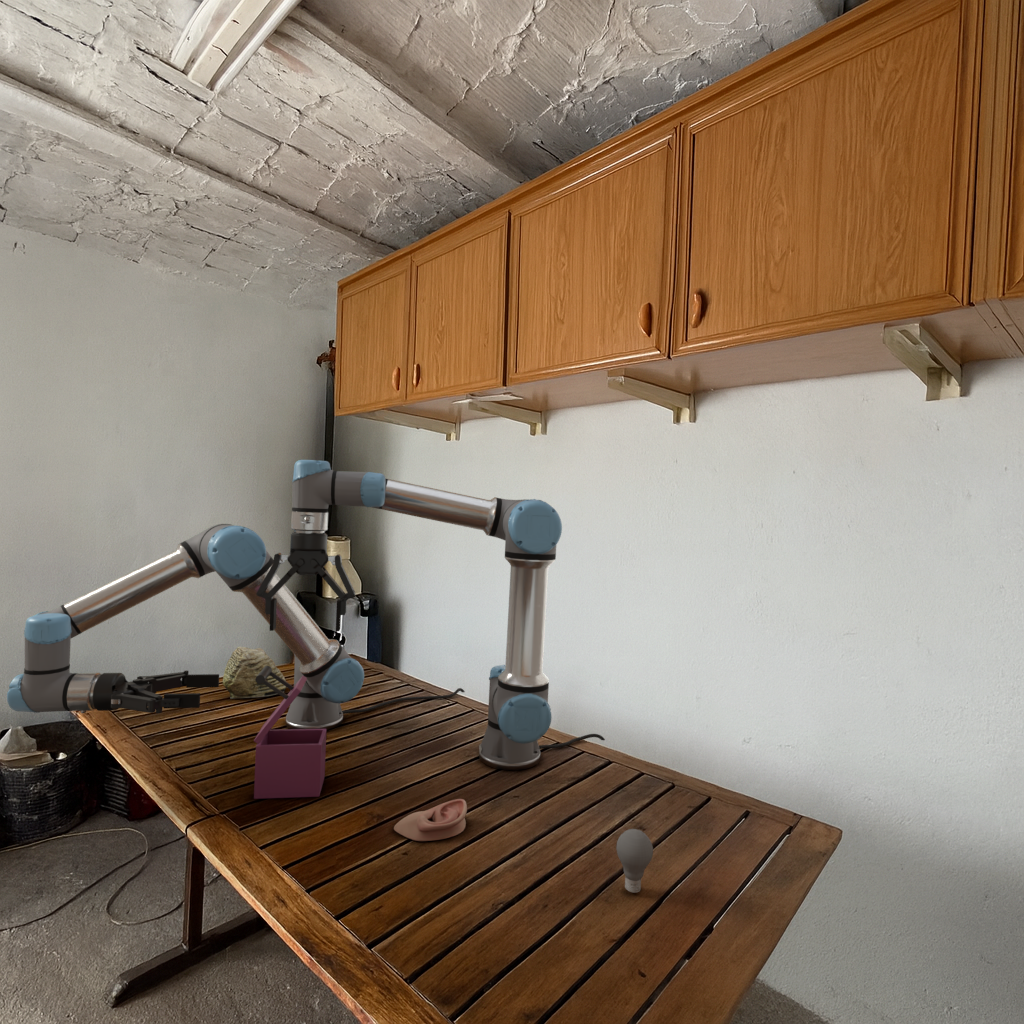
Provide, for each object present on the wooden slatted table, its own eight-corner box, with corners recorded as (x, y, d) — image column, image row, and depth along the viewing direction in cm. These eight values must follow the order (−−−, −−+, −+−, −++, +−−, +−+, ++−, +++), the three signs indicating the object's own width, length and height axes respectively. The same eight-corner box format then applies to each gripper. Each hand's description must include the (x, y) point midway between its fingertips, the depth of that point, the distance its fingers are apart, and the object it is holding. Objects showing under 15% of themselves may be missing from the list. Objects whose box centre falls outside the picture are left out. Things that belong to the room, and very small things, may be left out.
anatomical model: (388, 815, 119) (410, 788, 130) (387, 836, 119) (409, 808, 130) (456, 826, 116) (472, 797, 127) (455, 847, 116) (471, 817, 128)
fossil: (218, 695, 195) (220, 647, 195) (278, 685, 208) (279, 640, 207) (228, 703, 189) (230, 653, 188) (289, 692, 201) (290, 645, 201)
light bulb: (610, 879, 108) (613, 822, 108) (644, 879, 109) (647, 822, 109) (619, 902, 102) (622, 840, 102) (655, 901, 103) (658, 840, 103)
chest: (324, 777, 143) (326, 728, 143) (319, 796, 134) (321, 744, 134) (263, 779, 141) (265, 729, 141) (253, 799, 132) (255, 745, 131)
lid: (307, 678, 142) (274, 654, 140) (300, 691, 133) (265, 666, 131) (267, 728, 141) (233, 704, 139) (258, 744, 131) (221, 719, 130)
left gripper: (124, 691, 143) (225, 689, 146) (67, 732, 118) (189, 729, 122) (125, 658, 142) (225, 657, 146) (68, 692, 118) (190, 690, 121)
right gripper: (244, 530, 131) (240, 633, 131) (367, 534, 135) (363, 633, 135) (252, 528, 138) (248, 625, 138) (369, 532, 142) (365, 626, 143)
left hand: (209, 690), depth 134 cm, fingers open, 13 cm apart
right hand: (305, 629), depth 137 cm, fingers open, 13 cm apart
